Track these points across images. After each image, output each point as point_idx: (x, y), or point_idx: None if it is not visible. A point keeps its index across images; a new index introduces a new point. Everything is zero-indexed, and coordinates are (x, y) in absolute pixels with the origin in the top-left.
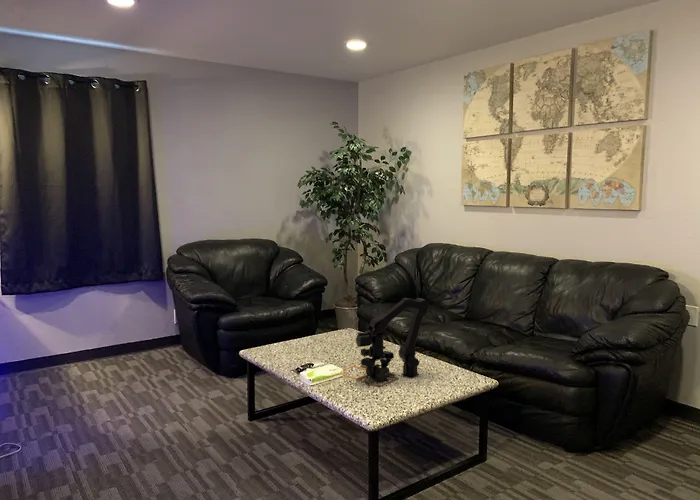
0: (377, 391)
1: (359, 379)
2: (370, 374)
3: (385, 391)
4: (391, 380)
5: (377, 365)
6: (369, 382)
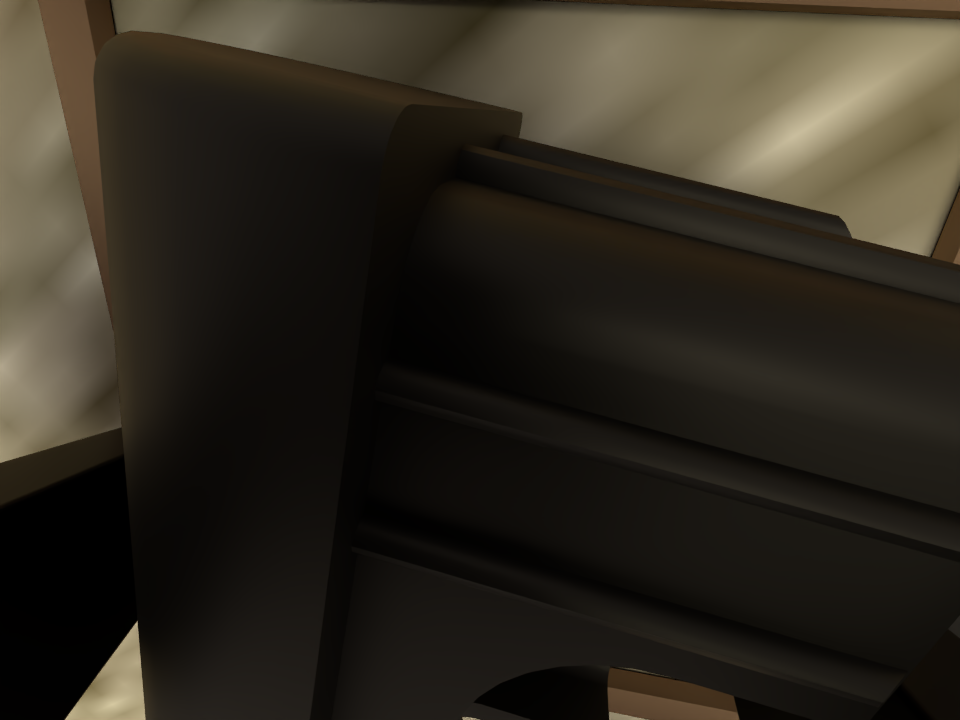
0: None
1: (72, 10)
2: (115, 431)
3: None
4: None
5: (644, 631)
6: None
